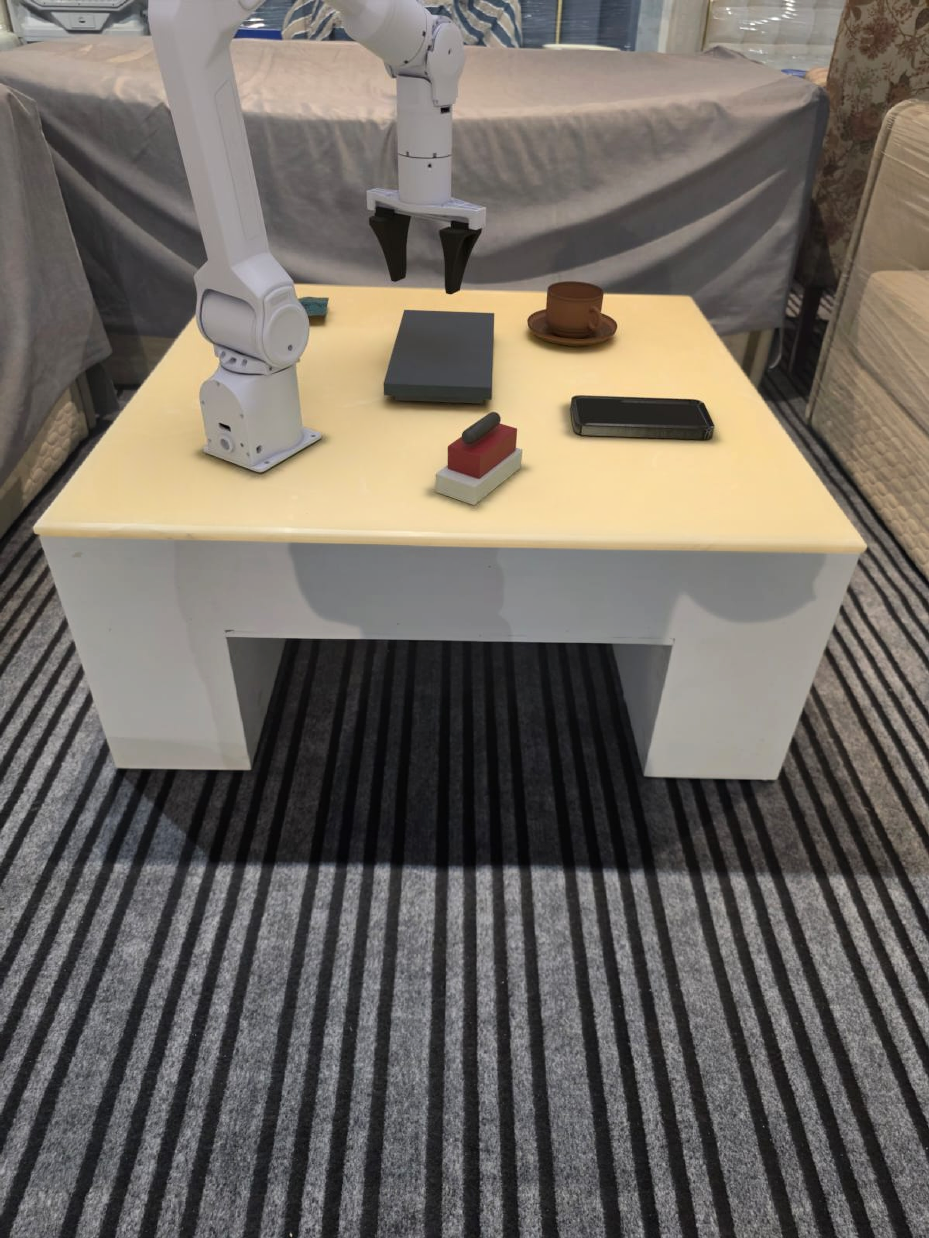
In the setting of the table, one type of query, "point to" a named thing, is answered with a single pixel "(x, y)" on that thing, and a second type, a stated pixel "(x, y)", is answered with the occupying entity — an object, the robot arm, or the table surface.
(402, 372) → the grey base platform
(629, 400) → the phone
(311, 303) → the terrain model
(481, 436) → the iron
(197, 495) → the table surface
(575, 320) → the cup and saucer
